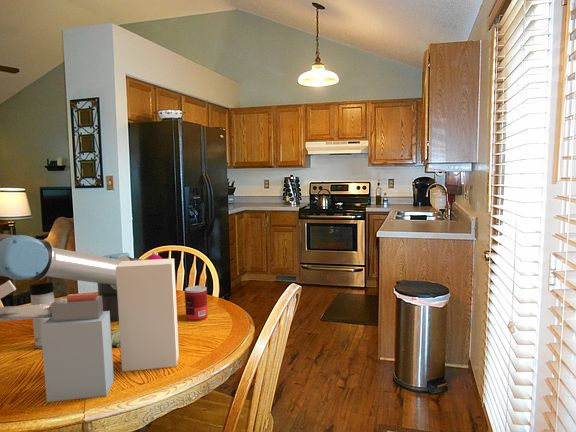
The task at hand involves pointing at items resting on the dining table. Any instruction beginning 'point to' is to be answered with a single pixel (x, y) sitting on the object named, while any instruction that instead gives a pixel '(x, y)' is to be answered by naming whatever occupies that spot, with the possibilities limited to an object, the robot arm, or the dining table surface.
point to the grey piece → (58, 309)
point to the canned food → (196, 303)
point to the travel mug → (38, 296)
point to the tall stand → (147, 314)
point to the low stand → (77, 358)
